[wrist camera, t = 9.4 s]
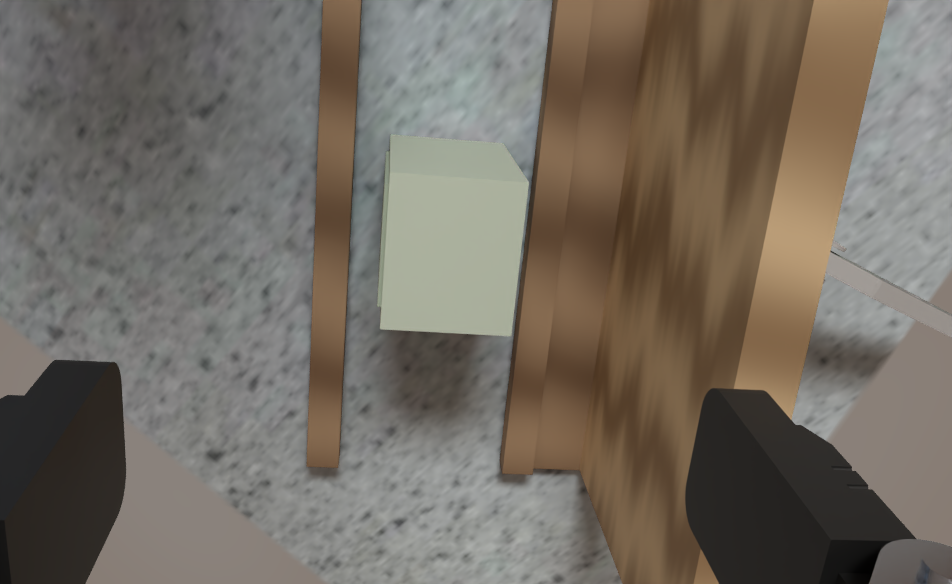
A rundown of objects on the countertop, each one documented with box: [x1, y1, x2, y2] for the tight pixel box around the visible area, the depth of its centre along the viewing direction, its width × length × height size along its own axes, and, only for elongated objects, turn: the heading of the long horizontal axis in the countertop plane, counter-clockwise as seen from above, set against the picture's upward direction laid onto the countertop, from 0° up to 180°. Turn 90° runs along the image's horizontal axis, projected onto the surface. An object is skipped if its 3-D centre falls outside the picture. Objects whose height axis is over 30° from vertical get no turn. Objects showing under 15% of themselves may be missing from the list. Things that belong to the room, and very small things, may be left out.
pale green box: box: [377, 135, 529, 336], centre depth 37 cm, size 6×5×8 cm
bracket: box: [823, 240, 952, 337], centre depth 42 cm, size 3×21×10 cm, turn 62°
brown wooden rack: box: [307, 0, 889, 584], centre depth 33 cm, size 26×16×16 cm, turn 175°
